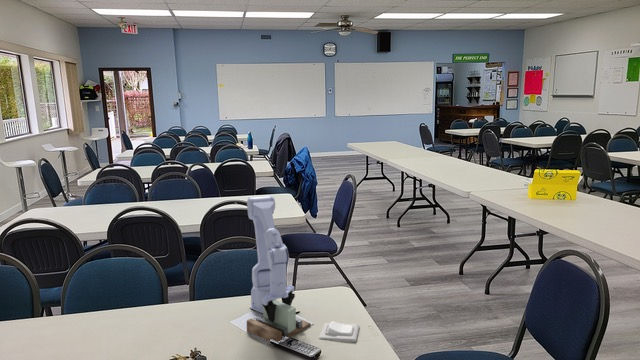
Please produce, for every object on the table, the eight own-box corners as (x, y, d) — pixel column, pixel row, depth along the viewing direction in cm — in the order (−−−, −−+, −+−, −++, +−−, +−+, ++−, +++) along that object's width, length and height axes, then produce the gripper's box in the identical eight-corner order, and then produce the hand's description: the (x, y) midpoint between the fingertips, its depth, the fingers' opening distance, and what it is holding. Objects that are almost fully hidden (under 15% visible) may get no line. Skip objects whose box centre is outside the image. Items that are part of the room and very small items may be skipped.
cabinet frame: (246, 331, 158) (246, 320, 158) (280, 313, 171) (280, 303, 171) (277, 345, 149) (277, 334, 148) (310, 325, 162) (310, 315, 161)
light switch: (323, 316, 163) (359, 317, 161) (324, 327, 164) (359, 328, 161) (317, 331, 153) (355, 332, 150) (318, 342, 153) (356, 344, 151)
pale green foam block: (288, 333, 155) (287, 311, 153) (263, 322, 162) (263, 302, 161) (297, 328, 158) (297, 306, 157) (273, 317, 166) (272, 297, 164)
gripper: (271, 290, 149) (272, 328, 151) (300, 277, 160) (300, 312, 162) (257, 284, 153) (257, 321, 156) (286, 272, 164) (286, 307, 167)
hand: (278, 316), depth 159 cm, fingers open, 7 cm apart
